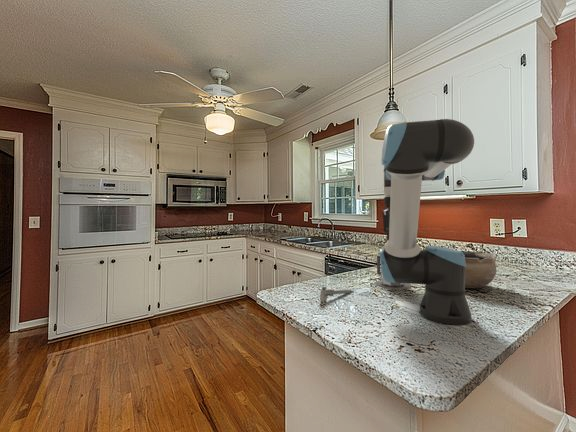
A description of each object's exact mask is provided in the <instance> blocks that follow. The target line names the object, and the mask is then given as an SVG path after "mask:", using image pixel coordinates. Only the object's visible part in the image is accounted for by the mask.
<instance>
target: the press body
mask: <svg viewBox="0 0 576 432" xmlns="http://www.w3.org/2000/svg"><path fill="white" fill-rule="evenodd" d="M376 274H377V275H380V277H381V278H380V280H381V282H382V285H384V286H388V287H403V286H404V285H405V283H394V282H387V281H385V280H384V279H383V275H382V268H381V260H380V252H378V254H377V255H376Z"/></svg>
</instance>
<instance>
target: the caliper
mask: <svg viewBox="0 0 576 432" xmlns="http://www.w3.org/2000/svg"><path fill="white" fill-rule="evenodd" d="M353 292H354V290H352V289H333V288H331V289H329V288H327V287H326V286H322V287H321V290H320V293H319V301H320V303H322V304H323V303H327V300H328V297H334V295H342V294H343V295H344V294H352V293H353Z"/></svg>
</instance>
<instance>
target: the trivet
mask: <svg viewBox="0 0 576 432" xmlns="http://www.w3.org/2000/svg"><path fill="white" fill-rule="evenodd" d="M374 284H375V286H377V287H379V288H383V289H387V290H395V291H396V290H409V289H410V288H412V284H410V283H405V285H404V286H403V287H388V286H384V285H382V282H381V279H379V280H376V281H375V282H374Z"/></svg>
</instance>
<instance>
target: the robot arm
mask: <svg viewBox="0 0 576 432" xmlns="http://www.w3.org/2000/svg"><path fill="white" fill-rule="evenodd" d="M382 143H383V144H382V151H381V165H382V166H383V196H384V197H383V205H384V206H386V207H385V209H384V210H381V211H382V212H381V214H382V219H383V220H382V223H383V232H384V234H386V242H385V243H384V246H383V248H380V249H379V252H378V253H380V255H379V256H380V269H381V268H382V275H383V279H384V280H385V281H387V282H394V283H409V284H410V285H412V284H415V285H425V289H424V290H425V291H424V293H423V296H422V299H421V302H420V304H419V313H420V315H421V316H423V317H424V318H425V319H427V320H430V321H433V322H436V323H440V324H446V325H453V326H454V325H455V326H461V325H462V326H463V325H467V324H470V323H471V322H472V312H471V309H470V307H469V306H470V305H469V303H468V301H467V300H468V299H467V297H466V288H465V267H466V264H465V256H464V254H463V253H462V252H461V251H462V250H458V249H454V248H451V247H450V248H449V247H445V246H444V247H443V246H438V245H426V246H425V247H424V249H421V248H422V247H421V246H420V245H419V244H418V243H417V241H418V240H417V238H418V229H419V218H420V217H419V216H420V205H421V194H422V193H421V192H422V182H423V181H433V182H434V181H441V180H443V179H444V177H445V175H446V174H445V173H446V169H448V168H449V167H450V166H451V165H453V164H454V165H455V164H458V163H460V162H462V161H464V160H465V159H466V158H468V157H469V155H471V154H472V151H473V149H474V146H475V137H474V134H473V132H472V130H471V129H470V128H469V127H468V126H467V125H466V124H464V123H463V122H461V121H459V120H455V119H452V118H441V119H433V120H432V119H431V120H422V121H420V120H419V121H403V122H399V123H394V124H390V125H389V126H388V127H387V129H386V131H385V135H384V137H383V142H382Z"/></svg>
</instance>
